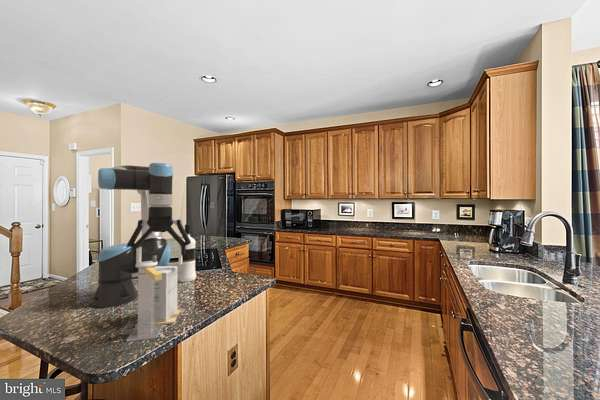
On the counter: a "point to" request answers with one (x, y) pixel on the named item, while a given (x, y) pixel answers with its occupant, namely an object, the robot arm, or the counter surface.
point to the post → (145, 311)
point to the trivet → (170, 320)
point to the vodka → (188, 260)
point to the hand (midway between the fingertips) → (160, 265)
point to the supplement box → (165, 293)
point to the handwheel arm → (150, 268)
